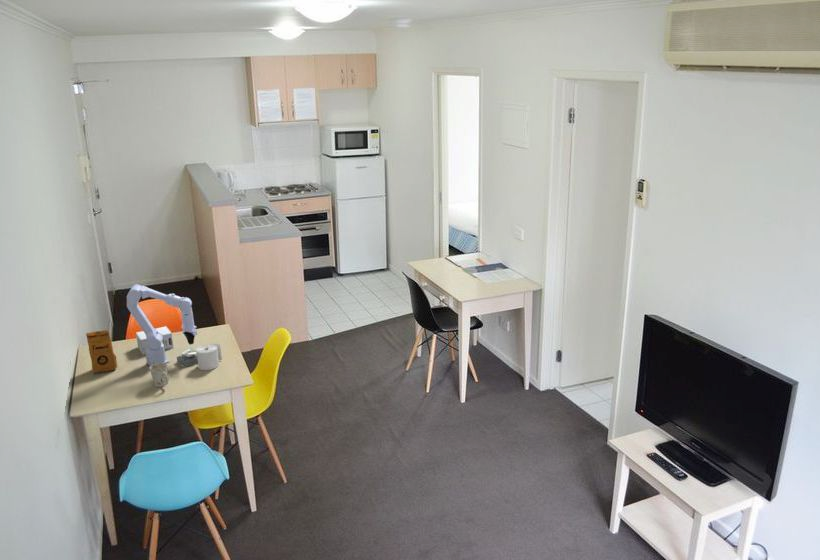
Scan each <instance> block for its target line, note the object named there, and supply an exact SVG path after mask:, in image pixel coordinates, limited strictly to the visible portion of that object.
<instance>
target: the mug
mask: <svg viewBox="0 0 820 560" xmlns="http://www.w3.org/2000/svg"><path fill="white" fill-rule="evenodd" d="M149 372H150V375H151V378H152V382H153V383H154V386H155V387H156V388H162V387H165V386H167V385H168V384H169V381H170V380H169V377H168V363H155V364H153V365H151V366H150V365H149Z"/></svg>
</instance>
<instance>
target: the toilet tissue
mask: <svg viewBox="0 0 820 560" xmlns="http://www.w3.org/2000/svg"><path fill="white" fill-rule="evenodd" d="M221 350H222V348H221V344H220V343H211V344H210V343H209V344H203V345H201V346H198V347H197V348H196V350H195V351H196V353H197V361H198V363H197V367H198V369H199V370H202V371H211V370H213V369H217V368H218V367H219V365H220V361H222V360H223V357H222V351H221Z"/></svg>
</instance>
